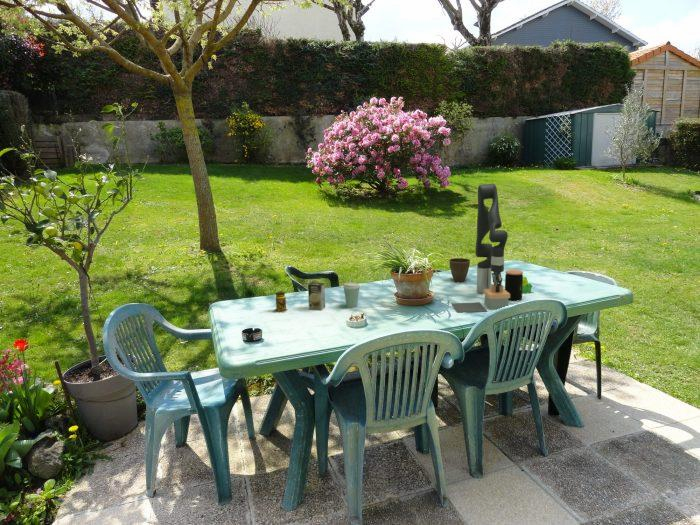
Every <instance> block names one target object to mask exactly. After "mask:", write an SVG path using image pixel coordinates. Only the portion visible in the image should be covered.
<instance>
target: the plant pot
mask: <svg viewBox="0 0 700 525" xmlns="http://www.w3.org/2000/svg"><path fill="white" fill-rule="evenodd" d="M448 262H449V268H450V272H451V276H452V279H453V281H455V282H454V283H457V282H463V283H465V282H466V279H467V276H468V272H469V269H470V264H471V260H470V259H469V258H465V257H464V258H463V257H462V258H461V257H458V258H456V257H455V258H450V259H449V260H448Z"/></svg>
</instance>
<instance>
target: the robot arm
mask: <svg viewBox="0 0 700 525" xmlns="http://www.w3.org/2000/svg"><path fill="white" fill-rule="evenodd" d="M498 195H499V194H498V188H497V186H496V184H495V183H485V184H479V185H478V187H477V217H476V218H477V219H476V240H475V241H476V243H475V251H474V252H475V256H476V257H477V258H486V259H484V260H481V261H479V262H477V265H476V266H477V269H476V270H477V272H476V293H479V294H481V293H482V295H483V294H484V293H483V290H484V289H490V285H492V283H493V285H496V292H499V291H500V286H501V284H502V283H503V277H502V274H501V273H503V272H504V270H505V247H506V243H507V241H508V238H509V235H508V232H507V231H506V230H504V229H503V230H499V229H500V228H501V227H502V226H503V224H502V218H501V215H500V206H499V196H498ZM490 199H491V200H492V203H491V205H490V209H489V210H488V208H487V206H486V205H485V201H484V200H490ZM488 233H489V234H488ZM487 235H488V239H489V241H490V242H491V243H498V244H497V245H494V246H493V245H492V244H491V243H482V242H483V240H484V239H485V236H487ZM502 285H503V284H502ZM484 295H485V294H484Z"/></svg>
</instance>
